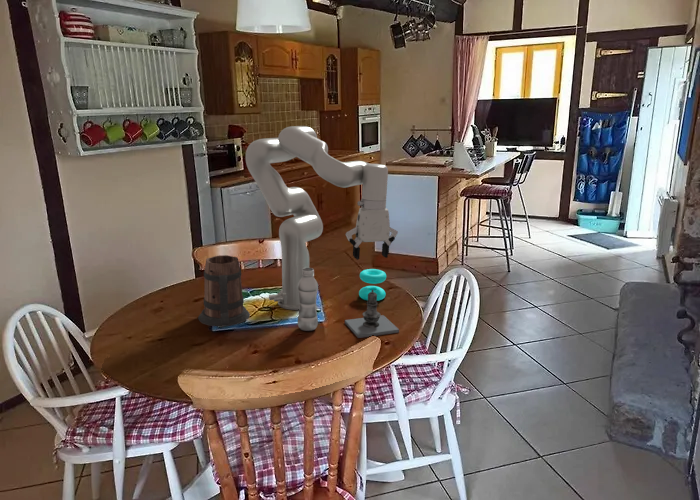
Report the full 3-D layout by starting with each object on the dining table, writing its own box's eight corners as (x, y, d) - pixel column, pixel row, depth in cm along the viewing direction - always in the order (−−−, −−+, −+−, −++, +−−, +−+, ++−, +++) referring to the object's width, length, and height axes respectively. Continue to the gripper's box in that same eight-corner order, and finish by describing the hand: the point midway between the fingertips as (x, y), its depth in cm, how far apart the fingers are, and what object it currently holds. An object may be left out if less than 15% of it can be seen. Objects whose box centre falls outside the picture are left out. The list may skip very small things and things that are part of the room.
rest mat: (358, 338, 161) (358, 335, 160) (344, 322, 171) (344, 320, 171) (398, 332, 165) (399, 329, 165) (383, 317, 176) (383, 315, 176)
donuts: (361, 267, 197) (388, 269, 196) (360, 291, 200) (386, 293, 199) (357, 275, 188) (385, 277, 186) (356, 301, 191) (383, 303, 189)
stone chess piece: (378, 329, 165) (380, 293, 162) (360, 327, 166) (361, 291, 163) (381, 321, 170) (383, 287, 167) (363, 320, 172) (365, 285, 168)
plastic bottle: (302, 334, 162) (302, 274, 156) (294, 326, 167) (294, 267, 162) (321, 331, 164) (322, 271, 159) (312, 323, 170) (313, 265, 165)
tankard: (198, 308, 180) (195, 252, 174) (248, 305, 184) (246, 250, 178) (196, 337, 158) (193, 274, 152) (253, 332, 162) (251, 272, 157)
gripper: (351, 207, 154) (349, 262, 159) (404, 206, 160) (400, 259, 165) (343, 202, 161) (341, 255, 166) (394, 201, 167) (390, 252, 171)
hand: (370, 257), depth 165 cm, fingers open, 9 cm apart
